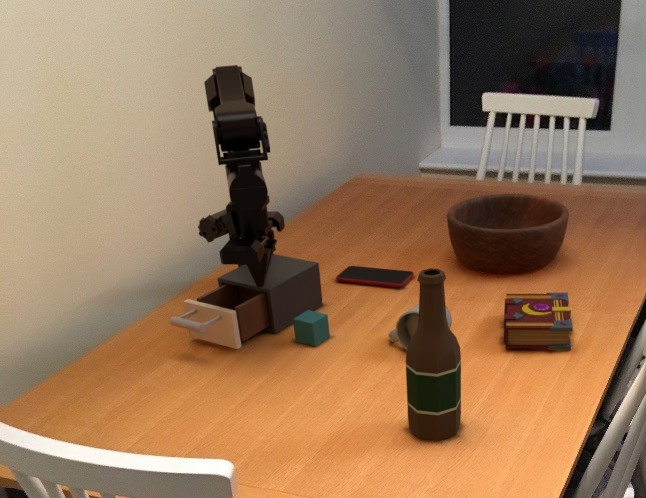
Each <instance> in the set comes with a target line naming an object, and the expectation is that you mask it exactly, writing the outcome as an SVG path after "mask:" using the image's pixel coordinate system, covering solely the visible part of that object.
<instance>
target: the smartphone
mask: <svg viewBox="0 0 646 498" xmlns="http://www.w3.org/2000/svg"><path fill="white" fill-rule="evenodd" d="M414 275H415V273H414V272H413V271H412V270H403V269H402V270H401V269H391V268H380V267H369V266H360V265H359V266H358V265H349V266H347V267H346V268H345V269H343V270H342V271H341V272H340V273H338V274H337V275H336V277H335V280H336V281H337V282H342V283H352V284H363V285H372V286H382V287H389V288H402V287H404V286H405V284H406V283H408V281H410V280H411V279H412V277H414Z"/></svg>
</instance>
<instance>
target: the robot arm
mask: <svg viewBox="0 0 646 498" xmlns="http://www.w3.org/2000/svg"><path fill="white" fill-rule="evenodd" d="M211 71H212V74H211V75H210V76H209V77H208V78H206V79H205V81H204V82H203V85H204V90H205V96H206V103H207V109H208V112H211V113H212V116H213V120H211V126H212V132H213V138H214V145H215V150H216V156H217V157H216V158H217V163H218V166H224V168H225V177H226V182H227V188H228V189H227V190H228V194H229V195H228V196H229V202H228V203H227V204H226V206H225V209H222V210H220V211H217V212H215V213H213V214H209V215H207V216H206V217H202V218H201V219H199V220H198V222H199V223H198V226H197V229H198V231H199V232H198V236H200V237H202V238H203V239H205V240H206V242H207V244H208V243H212V242H214V240H217V239H219V238H221V237H224V236H225V235H228V239H229V240H228V241H226V243H225V244H224V245H223V246H222V248H221V249H220V251H218V252H219V259H220V264H221V265H237V268H238V267H240V266H242V265H247V267H248V269H249V271H250V273H251V275H252V277H253V279H254V281H255V284H256V286H257V287H263V286H264V284H265V280H266V276H267V273H268V269H269V265H270V262H271V258H272V255H273V254H274V252H276V250H277V249H276V246H277V243H278V240H277V239H276V238H275V231H274V229H273V228H276V229H275V230H276V231H277V232H278V233H282V232H283V230H284V229H285V227H286V226H285V216H284V215H282V213H281V212H279V211H278V210H277V211H275V210H273V211H269V210H268V205H269V203H270V202H271V200H270V195H269V191H268V190H269V189H268V186H267V183H266V180H265V177H264V175H263V173H264V172H263V165H262V162H264V161H269V156H268V153H271V146H270V138H269V133H268V128H267V123H266V122H265V121H264V118H263V117H262V115H258V114H257V110H256V98H255V90H254V84H253V79H252V77H251V76H249V75H248V74H246V73H245V72H243V67H242V66H241V65H240V66H239V65H238V64H231V65H222V66H215V67H214V68H212V69H211ZM261 149H262V152H261ZM221 152H222V156H221Z"/></svg>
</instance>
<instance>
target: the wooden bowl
mask: <svg viewBox="0 0 646 498" xmlns="http://www.w3.org/2000/svg"><path fill="white" fill-rule="evenodd" d="M569 217H570V212H569V209H568V208H567V206H566V205H564V203H562V202H560V201H558V200H555V199H553V198H549V197H545V196H540V195H533V194H524V193H501V194H500V193H498V194H487V195H481V196H476V197H471V198H468V199H465V200H461V201H460V202H457V203H455V204H454V205H452V206H451V207H450V208H449V209H448V211H447V213H446V221H447V230H448V235H449V240H450V244H451V248H452V250H453V252H454V255H455V256H456V258H457V259H458V261H459V262H460V263H461V264H462V265H463V266H464V267H466V269H467V268H468V269H469V270H472V271H475V272H478V273H482V274H488V275H499V276H512V275H522V274H523V275H524V274H529V273H533V272H536V271H539V270H542V269H544V268H546V267H547V266H549V265H550V264H551V263H552V262H553V261H554V260H555V259H556V257H557V256H558V254H559V253H560V251H561V248H562V246H563V243H564V241H565V237H566V234H567V233H566V232H567V229H568V223H569Z"/></svg>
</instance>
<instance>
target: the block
mask: <svg viewBox="0 0 646 498" xmlns="http://www.w3.org/2000/svg"><path fill="white" fill-rule="evenodd" d="M292 324H293V330H294V331H293V332H294V338H295V342H296V343H300V344H304V345H306V346H307V345H308V346H312V347H317V346H318V345H320V344H321V343H323V342H324V341H325V340H327V339H329V338H330V327H329V326H330V325H329V315H328V314H327V313H322V312H319V311H315V310H314V311H310V310H307V311H306V312H304V313H302V314H301V315H299V316H297V317H296V318H294V319H293V323H292Z"/></svg>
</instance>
